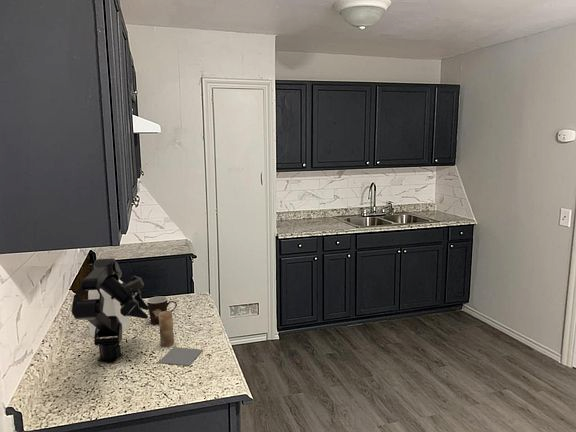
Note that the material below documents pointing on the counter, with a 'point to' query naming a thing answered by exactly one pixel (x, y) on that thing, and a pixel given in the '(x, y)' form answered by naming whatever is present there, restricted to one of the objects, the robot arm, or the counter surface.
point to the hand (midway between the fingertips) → (147, 313)
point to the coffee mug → (157, 307)
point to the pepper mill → (166, 328)
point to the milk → (109, 309)
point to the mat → (180, 356)
